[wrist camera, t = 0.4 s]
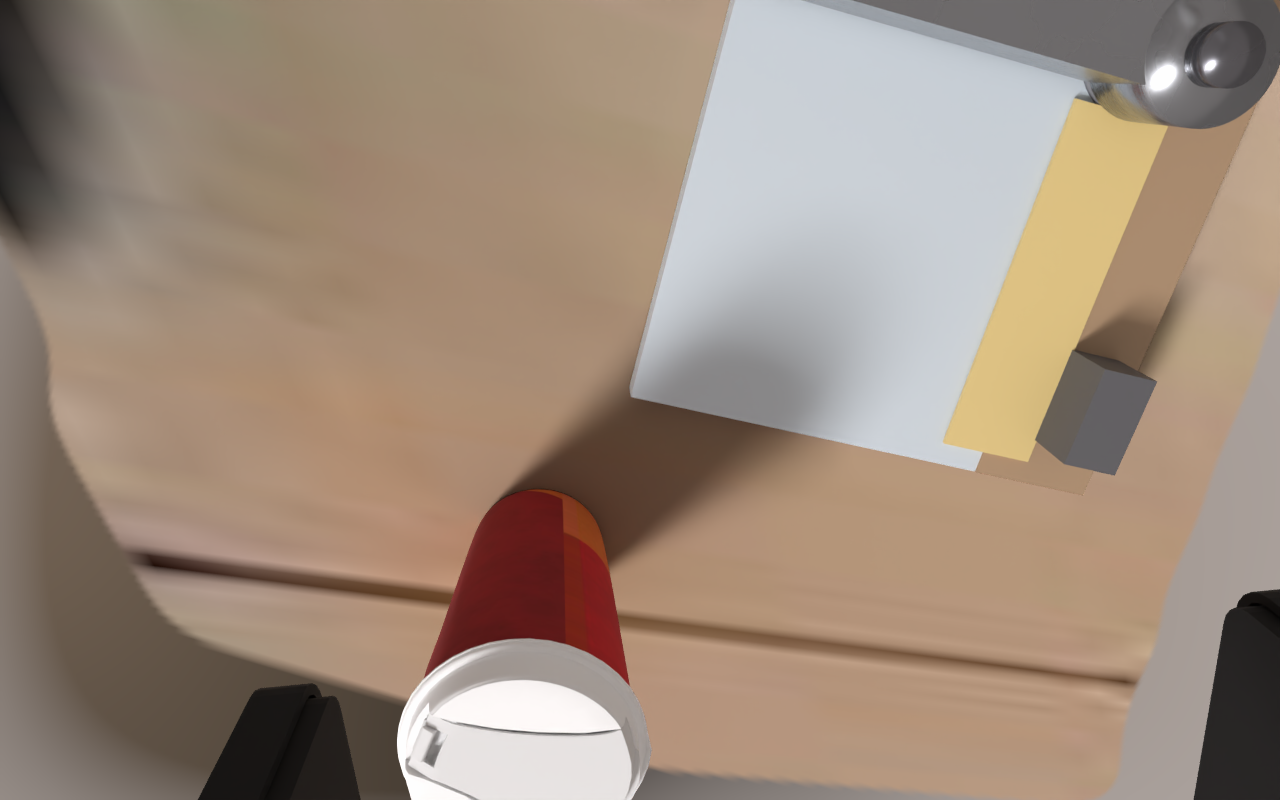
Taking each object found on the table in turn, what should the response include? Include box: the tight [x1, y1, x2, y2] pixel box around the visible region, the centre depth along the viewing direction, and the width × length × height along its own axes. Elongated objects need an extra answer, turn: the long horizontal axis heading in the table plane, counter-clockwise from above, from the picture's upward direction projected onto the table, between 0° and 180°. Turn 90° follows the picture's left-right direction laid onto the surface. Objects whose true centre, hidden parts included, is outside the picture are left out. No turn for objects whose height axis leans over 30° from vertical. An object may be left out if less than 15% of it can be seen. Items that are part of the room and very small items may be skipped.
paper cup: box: [397, 489, 652, 800], centre depth 34 cm, size 8×8×14 cm
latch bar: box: [802, 0, 1280, 129], centre depth 31 cm, size 18×5×5 cm, turn 76°
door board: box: [629, 0, 1280, 496], centre depth 34 cm, size 26×20×4 cm
